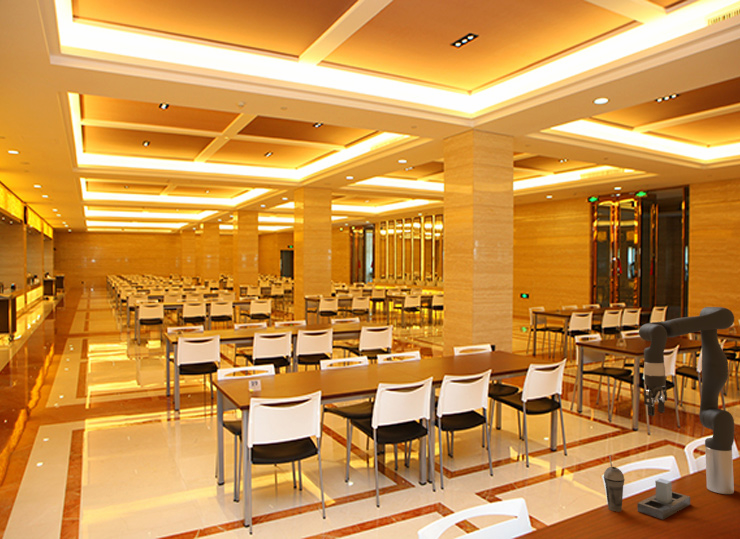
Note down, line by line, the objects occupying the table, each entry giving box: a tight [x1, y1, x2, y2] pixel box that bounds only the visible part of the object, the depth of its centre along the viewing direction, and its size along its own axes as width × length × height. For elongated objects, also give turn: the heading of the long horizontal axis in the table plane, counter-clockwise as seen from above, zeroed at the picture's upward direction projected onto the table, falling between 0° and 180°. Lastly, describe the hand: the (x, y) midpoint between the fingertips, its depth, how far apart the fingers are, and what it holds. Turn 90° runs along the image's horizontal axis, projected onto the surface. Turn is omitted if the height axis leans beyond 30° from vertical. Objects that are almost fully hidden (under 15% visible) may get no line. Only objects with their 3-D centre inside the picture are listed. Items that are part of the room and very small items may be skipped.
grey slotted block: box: [637, 490, 691, 520], centre depth 193 cm, size 22×9×3 cm, turn 125°
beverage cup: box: [603, 454, 625, 513], centre depth 192 cm, size 7×7×20 cm
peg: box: [655, 478, 673, 504], centre depth 193 cm, size 4×4×10 cm
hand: (656, 413), depth 205 cm, fingers open, 8 cm apart
